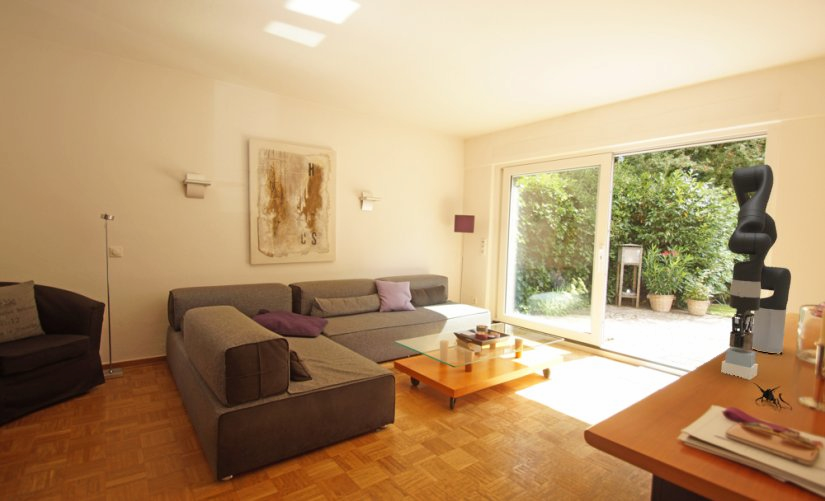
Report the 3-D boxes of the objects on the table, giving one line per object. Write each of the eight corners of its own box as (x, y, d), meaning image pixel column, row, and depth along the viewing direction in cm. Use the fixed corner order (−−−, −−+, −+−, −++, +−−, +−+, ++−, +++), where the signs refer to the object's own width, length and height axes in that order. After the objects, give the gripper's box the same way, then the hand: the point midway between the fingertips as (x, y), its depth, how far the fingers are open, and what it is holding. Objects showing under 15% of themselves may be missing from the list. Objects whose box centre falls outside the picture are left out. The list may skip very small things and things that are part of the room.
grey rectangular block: (729, 358, 136) (730, 346, 135) (754, 363, 131) (755, 351, 131) (725, 362, 131) (726, 350, 131) (750, 368, 127) (751, 355, 126)
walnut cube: (733, 344, 134) (735, 329, 134) (752, 347, 130) (753, 333, 130) (729, 346, 131) (730, 331, 131) (747, 350, 128) (749, 335, 127)
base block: (728, 368, 137) (729, 357, 137) (756, 376, 131) (757, 364, 131) (721, 373, 132) (722, 361, 132) (749, 380, 126) (750, 368, 126)
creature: (796, 417, 104) (781, 399, 111) (801, 400, 102) (785, 382, 110) (759, 412, 106) (746, 394, 114) (763, 394, 105) (750, 377, 112)
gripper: (737, 290, 137) (733, 339, 138) (723, 294, 128) (719, 346, 130) (766, 294, 131) (761, 345, 132) (753, 298, 122) (748, 352, 124)
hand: (740, 345), depth 131 cm, fingers closed on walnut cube, 4 cm apart
